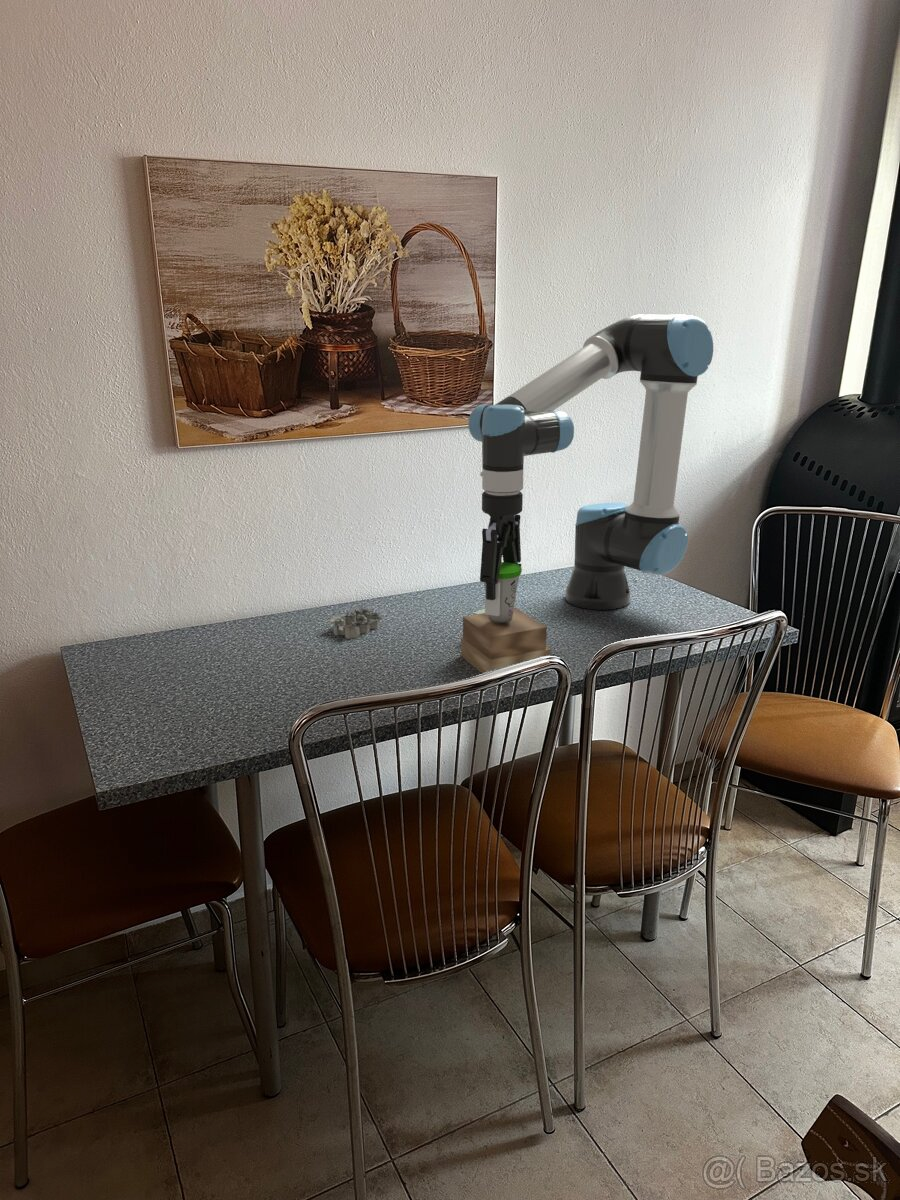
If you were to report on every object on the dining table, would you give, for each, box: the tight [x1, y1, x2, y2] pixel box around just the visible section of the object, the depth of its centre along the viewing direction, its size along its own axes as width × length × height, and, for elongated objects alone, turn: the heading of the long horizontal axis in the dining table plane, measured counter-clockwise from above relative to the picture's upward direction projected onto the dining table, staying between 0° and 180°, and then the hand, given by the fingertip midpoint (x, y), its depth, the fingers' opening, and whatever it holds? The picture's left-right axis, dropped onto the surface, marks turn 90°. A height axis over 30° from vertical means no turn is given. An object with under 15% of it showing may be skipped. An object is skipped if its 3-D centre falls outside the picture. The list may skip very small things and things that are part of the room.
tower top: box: [462, 607, 548, 659], centre depth 168 cm, size 12×12×4 cm
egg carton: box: [329, 605, 384, 640], centre depth 187 cm, size 11×8×4 cm
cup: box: [483, 542, 523, 623], centre depth 164 cm, size 8×8×15 cm
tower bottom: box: [460, 636, 552, 674], centre depth 170 cm, size 13×13×4 cm
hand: (500, 607), depth 166 cm, fingers open, 8 cm apart
